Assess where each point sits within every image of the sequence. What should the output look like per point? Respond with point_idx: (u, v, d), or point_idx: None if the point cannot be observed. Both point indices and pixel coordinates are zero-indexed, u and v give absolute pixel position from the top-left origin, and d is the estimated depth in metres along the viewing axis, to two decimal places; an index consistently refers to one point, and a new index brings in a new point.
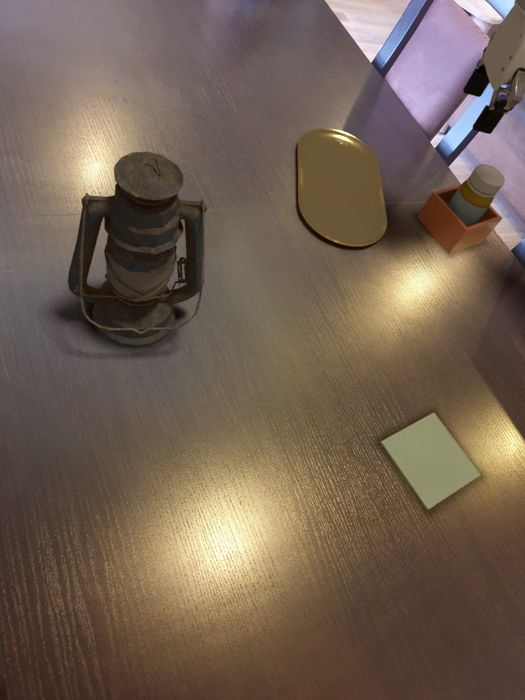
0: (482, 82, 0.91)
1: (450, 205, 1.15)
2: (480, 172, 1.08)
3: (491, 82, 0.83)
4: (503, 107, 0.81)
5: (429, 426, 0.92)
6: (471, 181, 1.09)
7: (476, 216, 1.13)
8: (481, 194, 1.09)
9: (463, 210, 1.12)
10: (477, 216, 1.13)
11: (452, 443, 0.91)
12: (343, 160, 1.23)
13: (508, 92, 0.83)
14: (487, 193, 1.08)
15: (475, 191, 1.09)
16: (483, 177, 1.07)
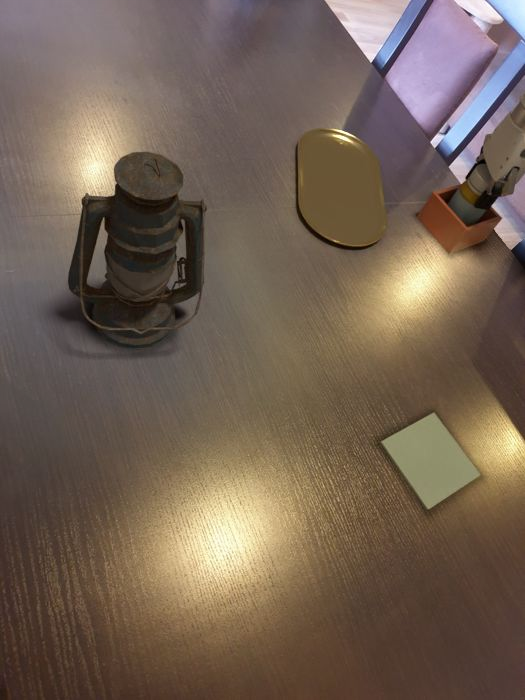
0: None
1: (450, 205, 1.15)
2: (480, 172, 1.08)
3: (491, 174, 1.04)
4: (498, 194, 1.04)
5: (429, 426, 0.92)
6: (471, 181, 1.09)
7: (476, 216, 1.13)
8: None
9: (463, 210, 1.12)
10: (477, 216, 1.13)
11: (452, 443, 0.91)
12: (343, 160, 1.23)
13: (503, 182, 1.05)
14: None
15: (475, 191, 1.09)
16: (483, 177, 1.07)
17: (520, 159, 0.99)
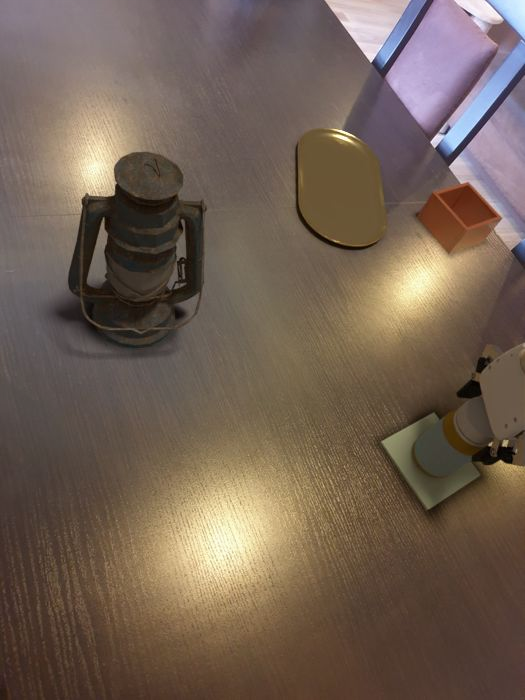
0: (478, 391, 0.79)
1: (430, 440, 0.83)
2: (471, 415, 0.76)
3: (492, 426, 0.71)
4: (508, 463, 0.70)
5: (429, 426, 0.92)
6: (458, 423, 0.77)
7: (466, 461, 0.81)
8: (473, 443, 0.77)
9: (448, 454, 0.80)
10: (468, 461, 0.81)
11: None
12: (343, 160, 1.23)
13: (512, 439, 0.71)
14: (481, 443, 0.76)
15: (464, 438, 0.77)
16: (475, 423, 0.75)
17: None
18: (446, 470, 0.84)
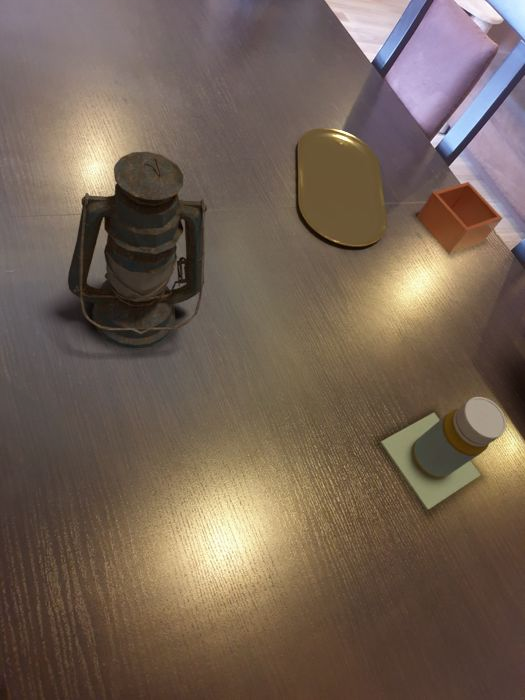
0: None
1: (430, 440, 0.83)
2: (471, 415, 0.76)
3: None
4: None
5: (429, 426, 0.92)
6: (458, 423, 0.77)
7: (466, 461, 0.81)
8: (473, 443, 0.77)
9: (448, 454, 0.80)
10: (468, 460, 0.81)
11: None
12: (343, 160, 1.23)
13: None
14: (481, 443, 0.76)
15: (464, 438, 0.77)
16: (475, 423, 0.75)
17: None
18: (446, 470, 0.84)
